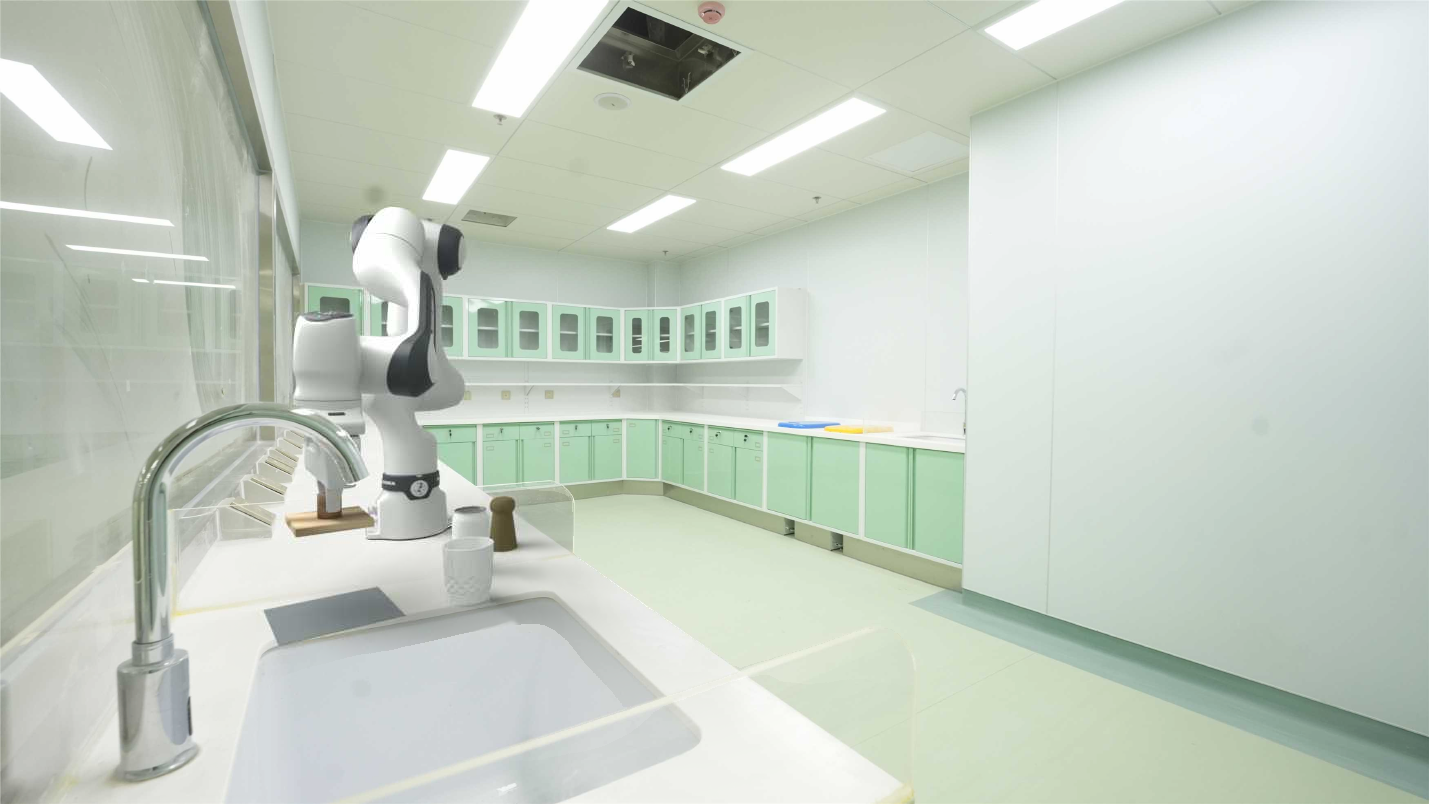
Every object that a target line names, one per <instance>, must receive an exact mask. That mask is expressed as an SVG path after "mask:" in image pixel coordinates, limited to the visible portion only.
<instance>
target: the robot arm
mask: <svg viewBox="0 0 1429 804" xmlns="http://www.w3.org/2000/svg"><path fill="white" fill-rule="evenodd" d="M350 231H351V232H350V237H349V238H350V239H349V240H350V241H349V242H350V245H351V250H352V253H353V257H352V259H353V260H352V271H353V274H354V277H355V279H356V280H357V282H358V283H359V284H360V286H361V287H362V288H363V289H365V291H366V292H367V293H369V294H371V295H372V296H374V297H375V298H377V299H379V300H381V301H385V302H388V303H387V316H386V317H387V318H386V334H387V336H386V335H385V336H384V335H383V336H381V335H380V336H379V335H361V334H360V331H359V330H360V329H359V325H358V319H357V317H356V316H355V315H354V314H353V313H349V312H346V311H341V310H339V311H338V310H323V311H322V310H321V311H319V310H317V311H316V310H315V311H309V312H308V311H307V312H305V313H303V314H301V315H300V316H299V315H298V316H299V317H298V318H297V321H296V325H295V329H294V334H293V335H294V336H293V345H292V372H293V374H294V377H295V383H296V384H295V385H296V386H295V390H294V393H293V397H292V398H293V400H292V401H293V402H292V406H293V405H296V406H301V407H303V408H307V409H309V410H313V411H315V412H317V413H319V414H321V415H323V416H325V417H326V418H327V419H329V420H330V421H332V422H333V423H335V424H336V425H338V426H339V427H341V428H342V429H343V430H345V431H346V432H347V433H348V434H349V435H350V437H351V438H352V440H353V441H354V443H355V444H356V445H357V448H358V450H359V452H360V454H361V453H362V452H361V450H362V447H361V446H362V443H361V442H362V441H361V436H362V435H365V434H366V421H365V419H364V417H363V413H364V414H366V415H367V417H369V418H370V419H371V421H372V422H373V423H374V425H375V427H376V428H377V429H378V431H379V435H380V437H381V441H382V448H383V463H384V466H383V467H384V472H383V473H382V477H381V491H380V493H379V495H378V496H377V498H376V499H375V501H374V503H372V504H369V505H368V506H367V513H368V514H369V515H370V516H372V517H373V518H374V527H368V528H364V530H365V536H366V539H368V540H371V539H372V540H374V539H375V540H376V539H377V540H378V539H379V540H380V539H382V540H410V539H412V540H413V539H420V538H424V537H430V536H435V535H437V534H440V533H442V532H444V531H445V530H447V528H446V527H448V526H450V525H452V519H449V518H448V506H447V502H448V501H447V494H446V492H444V490H442V489H441V488H440V487H439V486H440V483H441V481H440V480H441V475H440V470H439V469H438V440H437V438H436V437H435V435H434V434H433V433H432V432H431V431H429V430H427V429H426V428H423V427H421V426H420V425H419V424H418V422H417V419H416V414H415V413H417V412H436V411H442V410H445V409H450V408H453V407H456V406H458V405H459V404H460V403H462V400H463V398H464V396H465V392H466V383H465V380H464V378H463V375H462V374H461V373H460V371H459V370H458V369H456V367H454V366H453V365H452V363H451V362H450V361H449V359H448V357H447V355H446V353H445V350H444V346H443V341H442V318H443V299H444V297H443V296H444V295H443V281H447V280H448V278H449V277H451V276H455V275H456V274H457V273H459V272H460V271H461V270H462V268H463V265H464V264H465V261H466V258H467V251H468V249H467V244H466V241H465V236H464V234H463V233H462V232H461V229H459V228H456V227H454V226H451V225H450V224H447V223H446V224H445V223H444V224H440V223H436V222H432V221H428V220H424V219H420V217H418V215H416V214H415V213H414V212H412V211H411V210H409V209H407V208H404V207H400V206H399V207H398V206H388V207H384V208H383V209H381V210H379V211H378V212H377V213H375V214H367V215H366V214H365V215H361V216H360V217H358V218H357V219H355V221H354V222H353V224H352V227H351V230H350ZM303 441H304V461H303V462H304V466H305V470H306V471H308V472H309V473H310V474H311V475H312V476H313V477H314V478H315V479H316V480H315V481H316V486H317V492H318V493H322V492H326V499H325V509H326V511H327V512H329V513H331V512H338V511H340V509H341V496H343V491H344V490H347V489H352V488H356V486H357V484H354V485H347V484H346V482H345V481H344V480H343V477H342V475H341V472H340V471H339V468H338V466H337V464H336V463H335V461H334V459H333V458H332V456H331V455H330V454H329V453H328V452H327V451H326V450H325V449H324V448H323V447H322V446H321V445H319V444H318V443H317V442H316V441H314V440H313V439H312V438H310V437H307V436H305V435H304V434H303ZM373 515H374V516H373Z"/></svg>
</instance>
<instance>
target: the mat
mask: <svg viewBox="0 0 1429 804" xmlns="http://www.w3.org/2000/svg"><path fill="white" fill-rule="evenodd" d="M263 613H264V614H265V617H266V620H267V622H268V624H269V626H270V628H271V631H272V634H273V635H274V638H275V640H276V643H277V645H278V646H279V647H280V646H284V645H288V644H293V643H297V642H301V641H302V642H303V641H305V640H309V639H313V638H317V637H322V636H325V635H330V634H334V633H339V632H344V631H347V630H351V629H356V628H359V627H363V626H367V625H372V624H377V623H380V622H384V621H388V620H392V619H397V618H401V617H404V616H405V617H406V614H405V613H404V611H402V610H401V608H399V606H397V604H395V603H394V602H393V601H392V600H391V599H390V598H389V596H387V594H385V592H384V591H383V590H382V589H381V588H379V586H374V587H368V588H363V589H358V590H355V591H354V590H353V591H349V592H344V593H340V594H336V595H334V594H333V595H330V596H324V597H320V598H315V599H311V600H305V601H301V602H296V603H292V604H287V605H285V604H284V605H281V606H276V607H270V608H267V609H263Z"/></svg>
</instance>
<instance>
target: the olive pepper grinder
mask: <svg viewBox="0 0 1429 804" xmlns="http://www.w3.org/2000/svg"><path fill="white" fill-rule="evenodd" d="M515 509H516V500H515V498H513V497H511V496H505V495H503V496H497V497H493V498H492V499H491V501H490V502H489V510H490V512H491V522H490V529H489V530H490V531H489V538H490V539H492V540H493V541H494V550H493V553H504V552H510V551H514V550H516V549H517V548H518V541H517V533H516V526H515V519H514V513H513V512H514V511H515Z"/></svg>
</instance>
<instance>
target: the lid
mask: <svg viewBox="0 0 1429 804" xmlns="http://www.w3.org/2000/svg"><path fill="white" fill-rule="evenodd" d="M342 496H343V495H342ZM342 496H341V509H340V511H338V512H331V513H329V512H327V511H326V509H325V499H326V492H322V493H319V492H318V493H317V494H316V510H314V511H305V512H296V513H288V514H286V513H285V514H284V518H285V519H284V520H285V522H284V523H285V524H286V526H287V527H288V528H289V530H290V531H291V532H292V534H293V535H294V537H295V539H296V538H302V537H309V536H317V535H324V534H330V533H332V534H333V533H337V532H344V531H345V532H346V531H351V530H352V531H353V530H359V529H360V530H361V529H365V528H368V527H374V518H373V517H374V516H372V515H369V514H368V511H365V510H364V509H363V508H362V507H361V506H359V505H355V506H348V507H347V506H346V507H342V505H343V504H342V503H343V500H342Z"/></svg>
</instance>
